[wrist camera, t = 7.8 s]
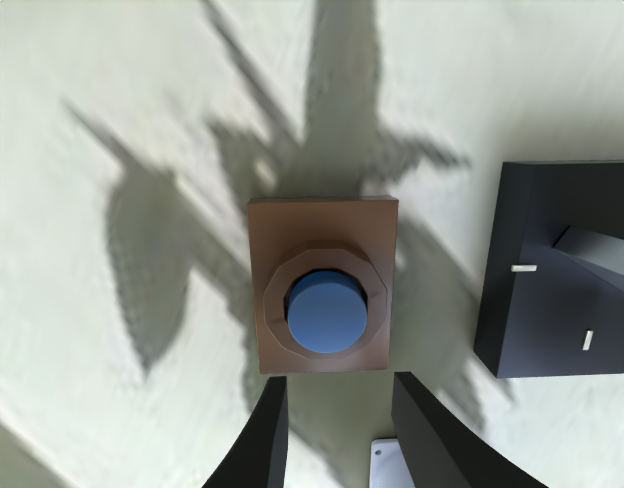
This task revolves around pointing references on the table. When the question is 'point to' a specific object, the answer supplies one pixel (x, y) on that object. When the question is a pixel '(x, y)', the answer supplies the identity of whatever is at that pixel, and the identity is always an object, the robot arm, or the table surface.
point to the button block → (314, 258)
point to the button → (326, 312)
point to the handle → (595, 253)
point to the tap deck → (551, 273)
